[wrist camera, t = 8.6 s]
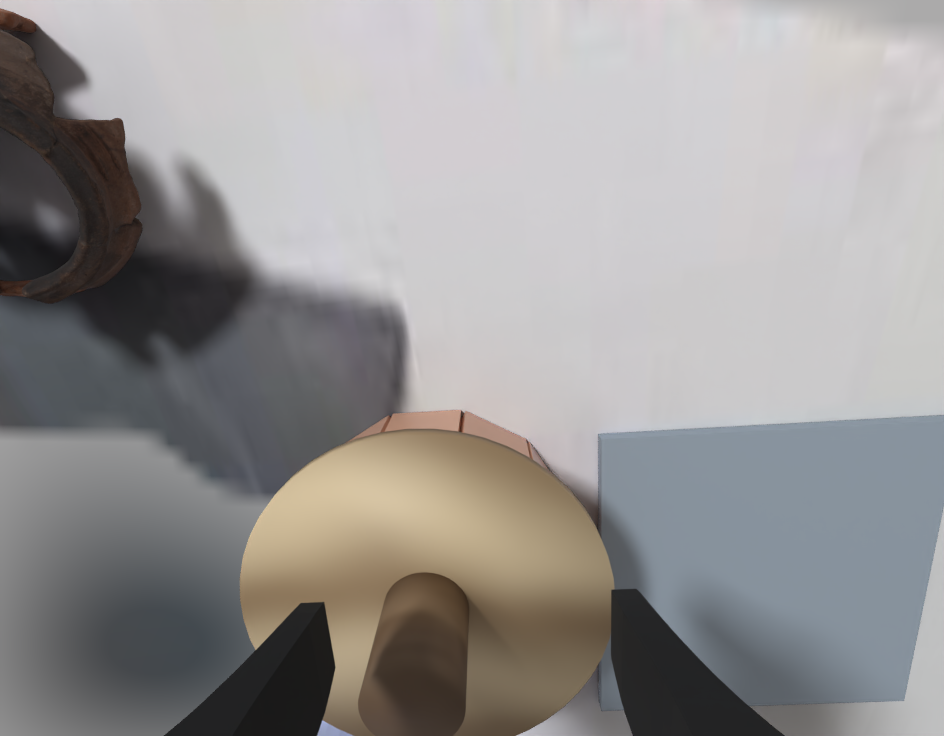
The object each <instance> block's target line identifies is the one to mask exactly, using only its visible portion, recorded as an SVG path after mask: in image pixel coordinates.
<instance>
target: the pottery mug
mask: <svg viewBox="0 0 944 736" xmlns="http://www.w3.org/2000/svg"><path fill="white" fill-rule="evenodd" d="M2 30H15V31H22V32H28V33H33V32H35V31H36V24H35V23H34V22H33V21H32V20H30V19H27V18H24V17H22V16H20V15H18V14H16V13H13V12H10V11H7V10H4V9H0V128H2V129H4V130H6V131H7V132H9V133H10V134H12V135H14V136H16V137H17V138H19V139H20V140H21V141H23V142H24V143H25V144H27V145H28V146H30V147H31V148H33V149H35V150H36V151H37V152H38V153H39V154H40V155H41V156H42V157H43V159H44V160H45V161H46V162H47V163H48V164H49V165H50V166H51V167H52V168H53V169H54V171H55V172H56V174H57V176H58V177H59V178H60V179H61V181H62V182H63V184H64V185H65V186H66V188H67V189H68V191H69V193H70V194H71V196H72V199H73V200H74V203H75V205H76V207H77V209H78V215H79V219H80V238H79V240H78V243H77V247H76V249H75V251H74V253H73V255H72V256H71V258H70V260H69V261H68V262H67V263H66V264H64V265H63V266H61V267H60V268H59V269H57V270H55V271H53V272H51V273H50V274H47V275H45V276H42V277H39V278H36V279H34V280H27V281H3V280H0V295H3V296H24V297H27V298H30V299H33V300H37V301H40V302H44V303H48V304H52V303H55V302H59V301H61V300H63V299H65V298H66V297H68V296H71V295H72V294H74V293H77V292H82V291H84V290H86V289H87V288H97V287H99V286H102V285H104V284H105V283H106V282H108V281H109V280H110V279H111V278H113V277H114V276H115V275H116V274H117V273H118V272H119V271H120V270H121V269H122V268H123V266H124V265H125V264H126V263H127V262H128V260H129V259H130V257H131V255H132V254H133V252H134V250H135V248H136V245H137V242H138V240H139V237H140V235H141V232H142V223H141V222H140V221H139V220H138V219H137V218H135V217H136V215H137V214H138V213H139V212H140V210H141V202H140V198H139V194H138V191H137V189H136V187H135V185H134V183H133V180H132V177H131V175H130V172H129V169H128V164H127V159H126V152H125V147H124V144H125V131H124V126H123V121H122V120H121V119H120V118H115V119H112V120H75V119H63V118H59V117H56V116H55V115H54V114H53V103H54V94H53V91H52V89H51V86H50V83H49V81H48V79H47V78H46V76H45V75H44V73H43V72H42V71H41V69H40V68H39V67H38V65H37V62H36V57H35V53H34V51H33V49H32V48H31V47H30V46H29V45H28V44H27V43H25V42H23V41H21V40H20V39H18V38H16V37H14V36H13V35H11V34H9V33H7V32H5V31H2Z"/></svg>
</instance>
